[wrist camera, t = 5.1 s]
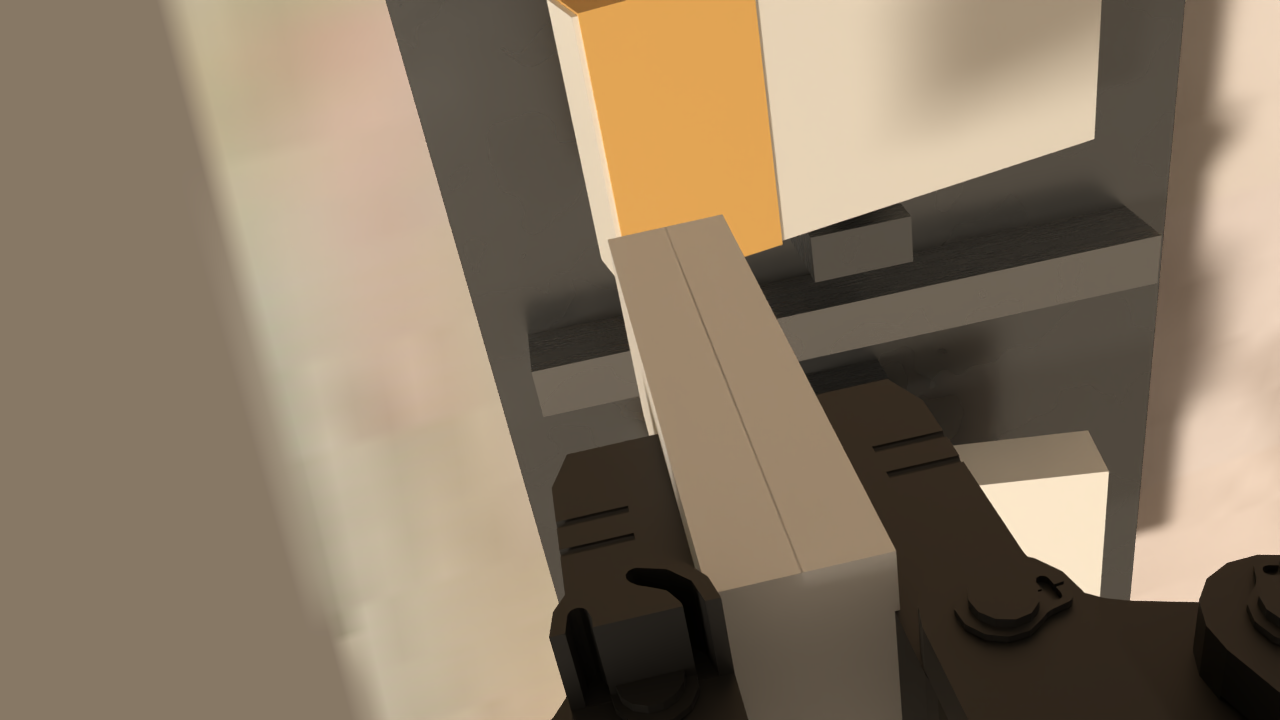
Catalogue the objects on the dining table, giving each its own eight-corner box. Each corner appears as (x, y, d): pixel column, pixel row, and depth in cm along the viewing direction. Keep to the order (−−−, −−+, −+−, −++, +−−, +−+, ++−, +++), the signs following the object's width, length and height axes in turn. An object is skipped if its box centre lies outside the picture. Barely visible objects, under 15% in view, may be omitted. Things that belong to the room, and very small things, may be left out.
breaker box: (1138, -446, 22) (1344, -482, 17) (1080, 548, 36) (1183, 694, 31) (324, -282, 21) (281, -267, 16) (587, 658, 35) (608, 824, 30)
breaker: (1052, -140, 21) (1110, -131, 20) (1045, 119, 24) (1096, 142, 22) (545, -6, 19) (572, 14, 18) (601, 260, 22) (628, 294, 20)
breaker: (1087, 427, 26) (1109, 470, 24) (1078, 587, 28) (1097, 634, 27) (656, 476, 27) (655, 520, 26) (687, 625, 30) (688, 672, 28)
